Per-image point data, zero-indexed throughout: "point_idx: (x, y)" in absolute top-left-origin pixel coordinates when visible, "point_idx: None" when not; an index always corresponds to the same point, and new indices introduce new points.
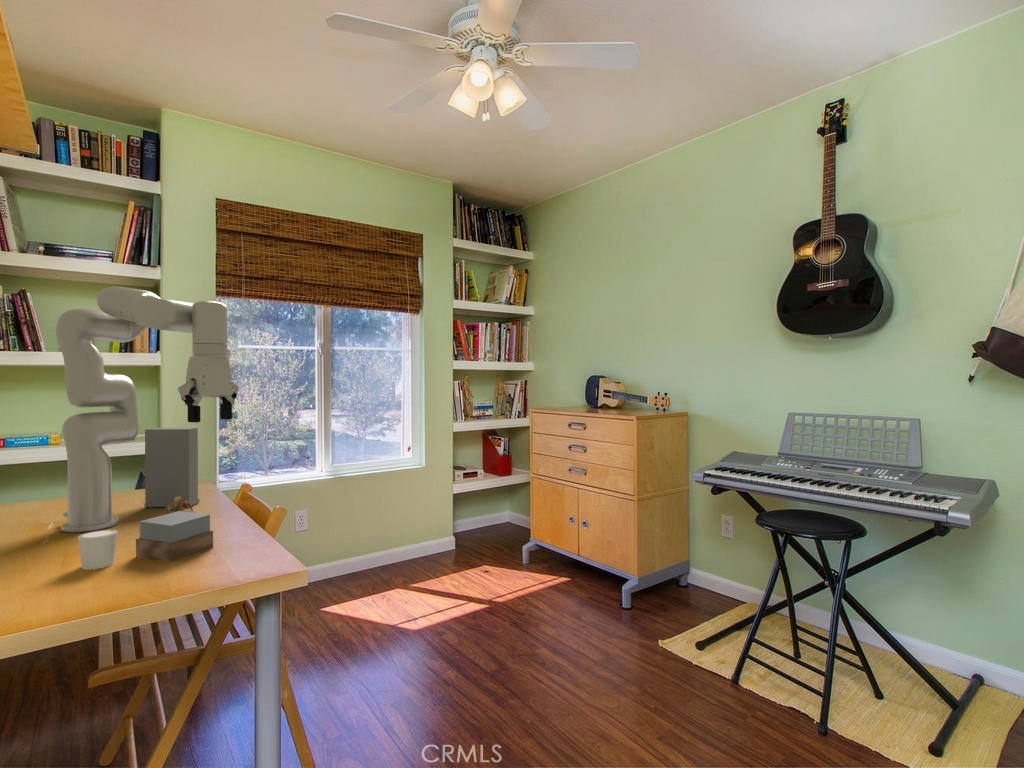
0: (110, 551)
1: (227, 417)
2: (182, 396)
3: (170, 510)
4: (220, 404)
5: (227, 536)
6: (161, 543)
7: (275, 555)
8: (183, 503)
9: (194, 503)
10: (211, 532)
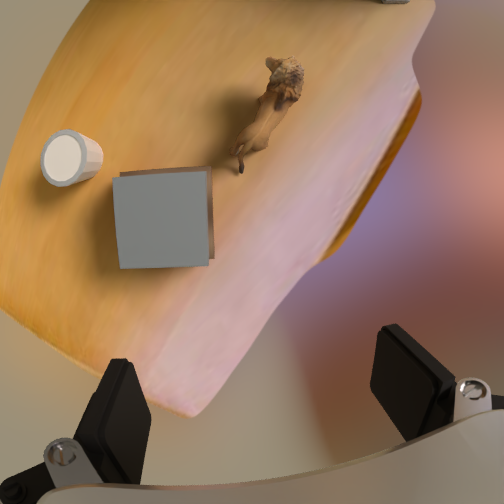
0: (80, 181)
1: (375, 381)
2: (6, 500)
3: (269, 68)
4: (431, 388)
5: (274, 217)
6: None
7: (224, 365)
8: (282, 90)
9: (396, 2)
10: (210, 257)
